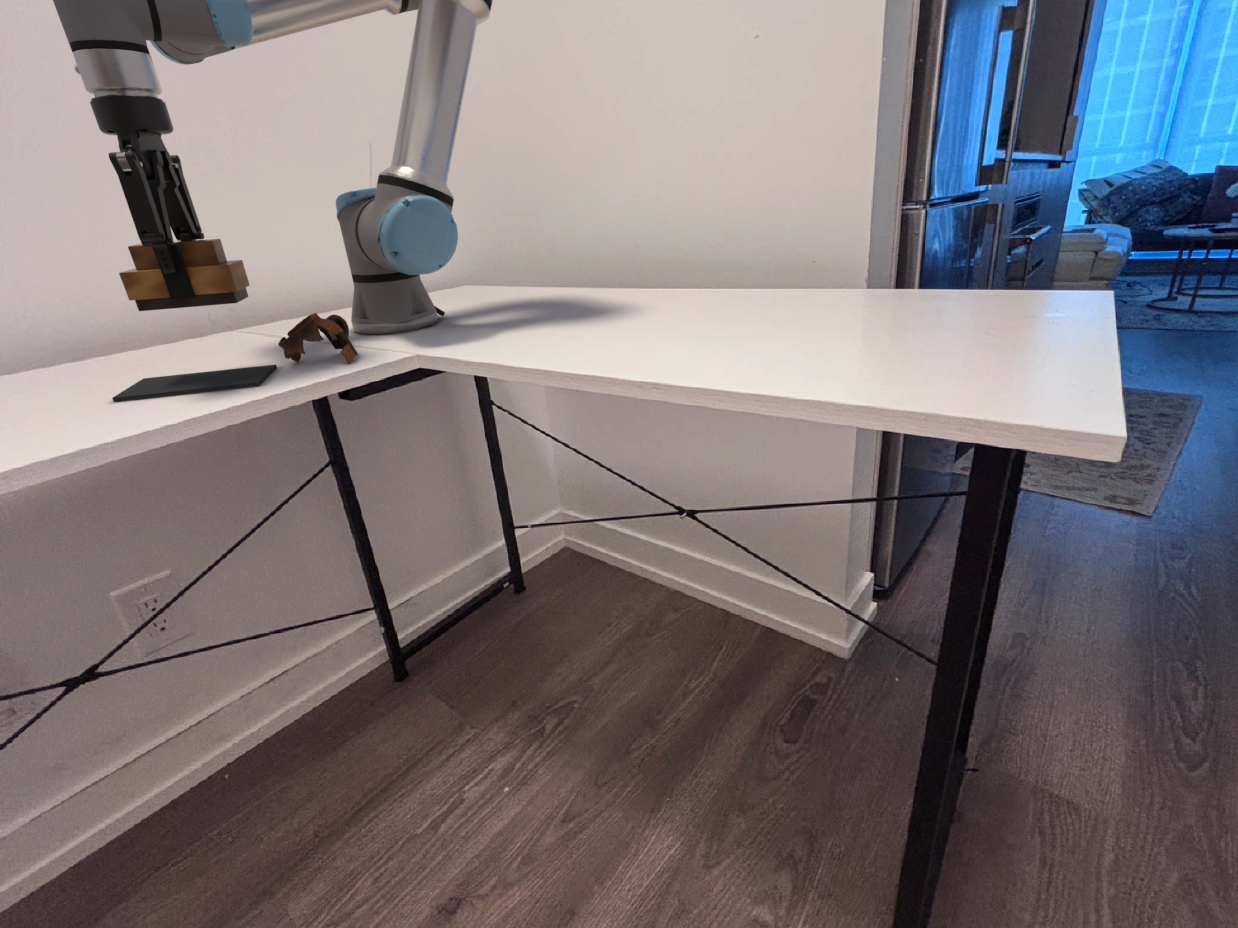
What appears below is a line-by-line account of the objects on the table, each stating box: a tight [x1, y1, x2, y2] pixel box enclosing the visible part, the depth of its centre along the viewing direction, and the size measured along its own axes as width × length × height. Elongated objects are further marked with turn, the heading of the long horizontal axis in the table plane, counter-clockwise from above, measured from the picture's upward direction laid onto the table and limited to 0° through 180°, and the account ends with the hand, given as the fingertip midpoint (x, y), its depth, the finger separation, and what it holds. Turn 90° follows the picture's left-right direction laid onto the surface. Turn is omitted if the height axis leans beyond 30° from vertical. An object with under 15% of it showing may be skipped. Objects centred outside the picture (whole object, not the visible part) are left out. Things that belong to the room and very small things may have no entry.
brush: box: [118, 238, 251, 312], centre depth 83 cm, size 13×6×8 cm, turn 102°
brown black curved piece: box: [277, 312, 359, 364], centre depth 95 cm, size 12×10×8 cm
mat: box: [111, 364, 278, 403], centre depth 88 cm, size 18×9×1 cm, turn 102°
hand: (192, 293), depth 85 cm, fingers closed on brush, 5 cm apart
